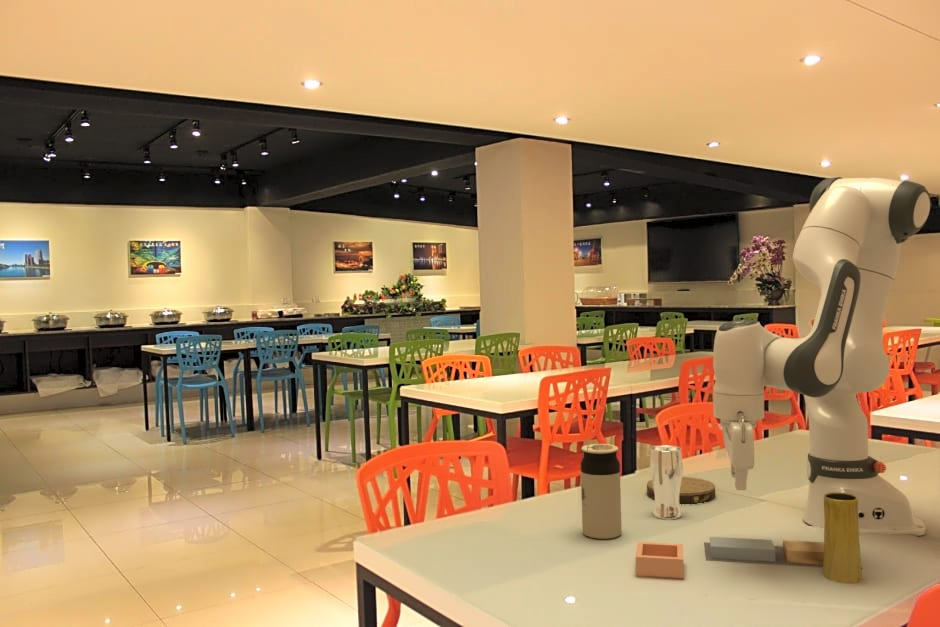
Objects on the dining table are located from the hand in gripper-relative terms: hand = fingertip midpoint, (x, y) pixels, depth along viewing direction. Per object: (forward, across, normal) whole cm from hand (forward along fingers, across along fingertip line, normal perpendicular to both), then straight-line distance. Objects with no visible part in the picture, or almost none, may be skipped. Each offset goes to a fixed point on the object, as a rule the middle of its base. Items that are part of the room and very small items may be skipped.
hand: (738, 482), depth 141 cm
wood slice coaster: (+14, +42, +10) cm, 46 cm away
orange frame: (+14, -10, +14) cm, 22 cm away
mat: (+14, +1, -7) cm, 16 cm away
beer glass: (+14, +25, +13) cm, 32 cm away
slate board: (+14, 0, -1) cm, 14 cm away
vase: (+14, -8, -16) cm, 23 cm away
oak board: (+13, 0, -14) cm, 19 cm away
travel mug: (+15, +10, +26) cm, 32 cm away
